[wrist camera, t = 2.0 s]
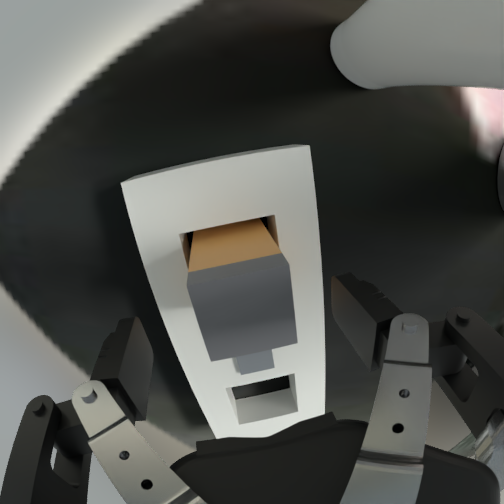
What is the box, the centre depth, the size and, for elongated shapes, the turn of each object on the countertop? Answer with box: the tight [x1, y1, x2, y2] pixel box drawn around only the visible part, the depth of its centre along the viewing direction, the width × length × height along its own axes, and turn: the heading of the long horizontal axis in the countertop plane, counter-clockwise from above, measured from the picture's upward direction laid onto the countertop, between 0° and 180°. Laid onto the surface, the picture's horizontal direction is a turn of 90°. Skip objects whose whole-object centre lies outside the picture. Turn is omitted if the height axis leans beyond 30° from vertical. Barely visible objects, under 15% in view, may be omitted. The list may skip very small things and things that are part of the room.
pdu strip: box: [121, 144, 325, 439], centre depth 20 cm, size 10×24×3 cm, turn 9°
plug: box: [187, 218, 298, 362], centre depth 16 cm, size 4×4×8 cm
